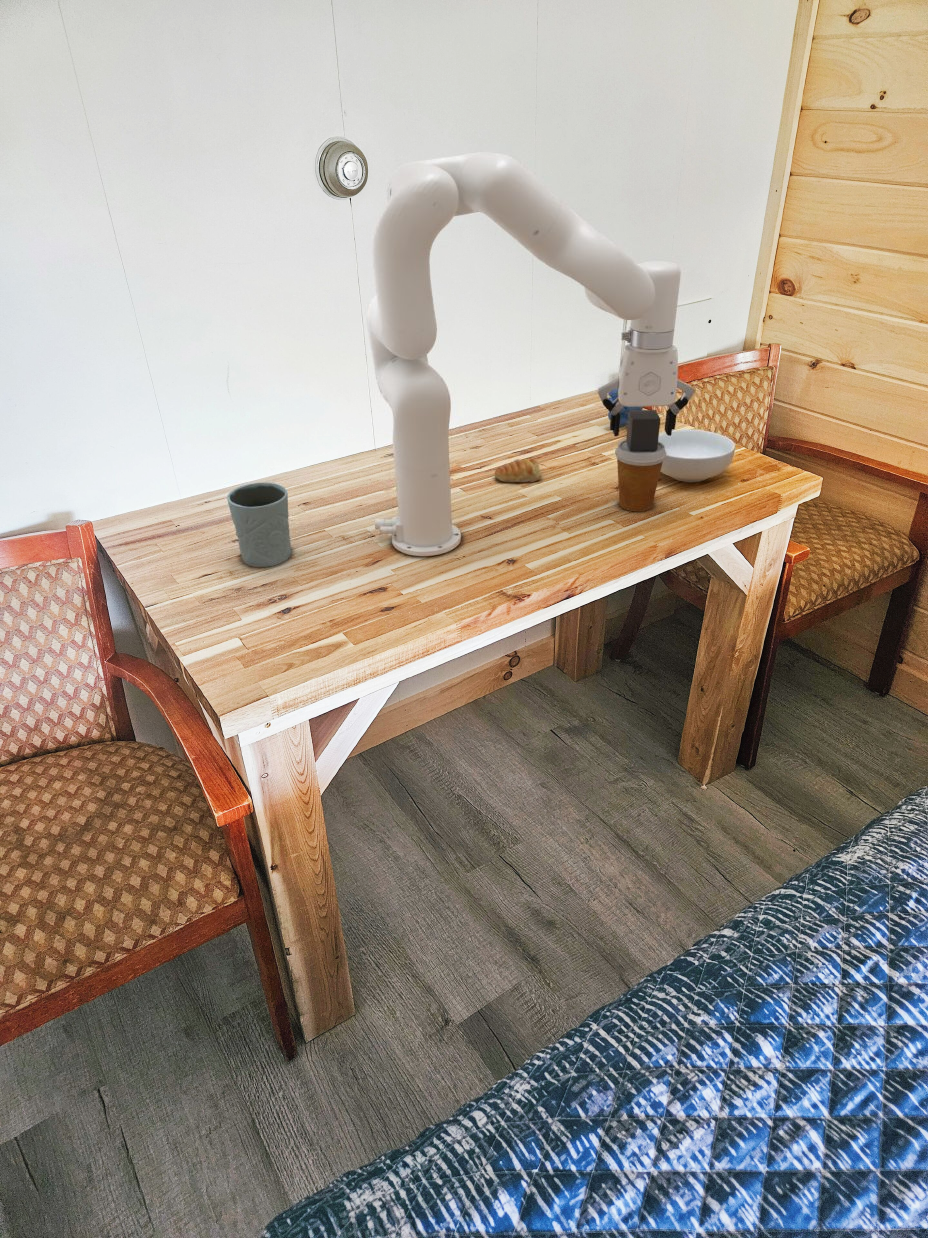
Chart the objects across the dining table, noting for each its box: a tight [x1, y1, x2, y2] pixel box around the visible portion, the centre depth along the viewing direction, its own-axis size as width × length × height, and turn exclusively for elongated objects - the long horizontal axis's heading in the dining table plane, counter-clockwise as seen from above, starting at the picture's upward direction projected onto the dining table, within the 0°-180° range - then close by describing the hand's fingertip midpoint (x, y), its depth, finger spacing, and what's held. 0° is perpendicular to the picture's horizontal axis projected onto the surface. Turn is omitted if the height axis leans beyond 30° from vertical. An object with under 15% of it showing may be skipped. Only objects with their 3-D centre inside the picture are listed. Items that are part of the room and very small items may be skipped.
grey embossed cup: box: [226, 482, 292, 568], centre depth 143 cm, size 10×10×12 cm
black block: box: [625, 409, 661, 451], centre depth 151 cm, size 5×5×6 cm
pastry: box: [494, 457, 542, 484], centre depth 171 cm, size 9×7×4 cm
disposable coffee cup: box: [614, 439, 667, 512], centre depth 156 cm, size 10×10×12 cm
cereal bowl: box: [658, 429, 736, 483], centre depth 169 cm, size 17×17×7 cm
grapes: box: [605, 389, 644, 427], centre depth 192 cm, size 12×7×12 cm, turn 123°
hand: (641, 433), depth 152 cm, fingers open, 9 cm apart
